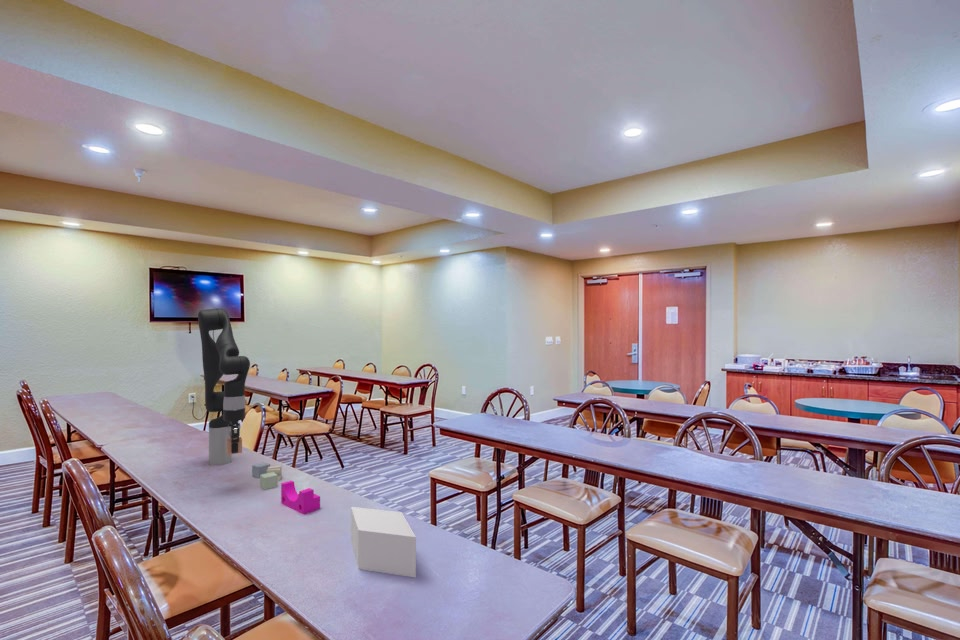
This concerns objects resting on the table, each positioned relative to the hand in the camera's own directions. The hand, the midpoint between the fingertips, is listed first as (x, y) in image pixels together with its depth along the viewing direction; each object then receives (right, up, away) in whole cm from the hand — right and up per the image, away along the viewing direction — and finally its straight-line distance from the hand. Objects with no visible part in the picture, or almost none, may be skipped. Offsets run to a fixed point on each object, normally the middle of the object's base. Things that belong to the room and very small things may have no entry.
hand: (234, 450), depth 171 cm
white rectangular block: (+69, -15, -50) cm, 86 cm away
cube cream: (+10, -15, +11) cm, 22 cm away
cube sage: (+12, -15, +3) cm, 20 cm away
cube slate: (+3, -16, +16) cm, 22 cm away
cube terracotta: (0, 0, 0) cm, 0 cm away
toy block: (+32, -15, -15) cm, 39 cm away
